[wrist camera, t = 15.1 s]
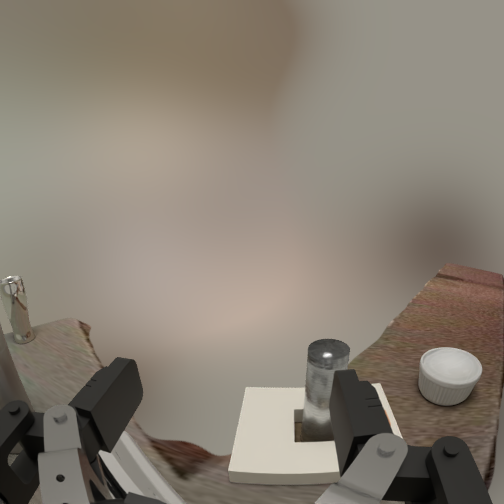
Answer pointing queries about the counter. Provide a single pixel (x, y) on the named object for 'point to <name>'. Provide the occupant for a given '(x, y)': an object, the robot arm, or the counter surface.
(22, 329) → the beer glass
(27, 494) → the robot arm
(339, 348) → the grey capped tube
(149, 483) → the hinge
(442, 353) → the ramekin
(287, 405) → the hole plate
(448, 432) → the counter surface
